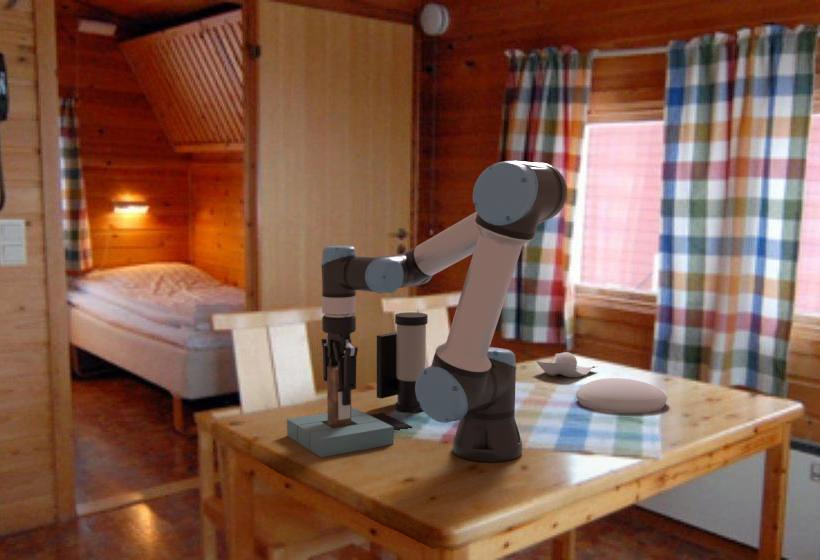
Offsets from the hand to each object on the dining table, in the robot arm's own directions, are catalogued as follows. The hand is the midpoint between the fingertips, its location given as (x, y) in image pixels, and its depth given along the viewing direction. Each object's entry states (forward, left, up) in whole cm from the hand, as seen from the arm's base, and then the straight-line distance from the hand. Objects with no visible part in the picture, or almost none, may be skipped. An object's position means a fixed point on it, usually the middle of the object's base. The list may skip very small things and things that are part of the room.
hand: (339, 415), depth 192 cm
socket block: (0, 0, -6) cm, 6 cm away
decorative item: (-10, -79, -6) cm, 80 cm away
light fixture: (+16, -28, -6) cm, 33 cm away
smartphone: (+7, -16, -6) cm, 19 cm away
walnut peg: (0, 0, -3) cm, 3 cm away
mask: (+25, -90, -6) cm, 94 cm away
